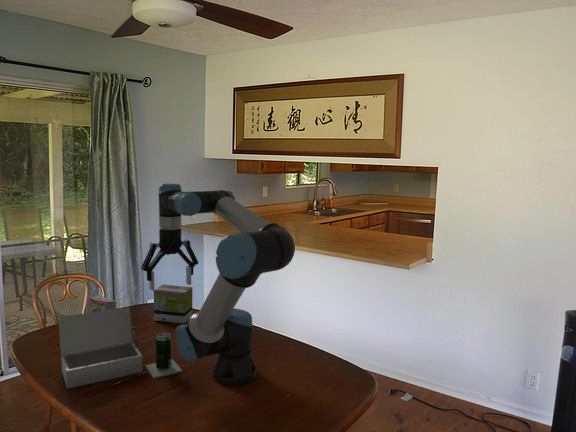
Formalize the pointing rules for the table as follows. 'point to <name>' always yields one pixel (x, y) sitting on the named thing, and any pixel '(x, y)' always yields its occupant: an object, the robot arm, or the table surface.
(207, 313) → the robot arm
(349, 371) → the table surface
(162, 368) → the beer can
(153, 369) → the pad
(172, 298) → the tea box
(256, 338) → the table surface
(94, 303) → the candy bar box
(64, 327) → the case
